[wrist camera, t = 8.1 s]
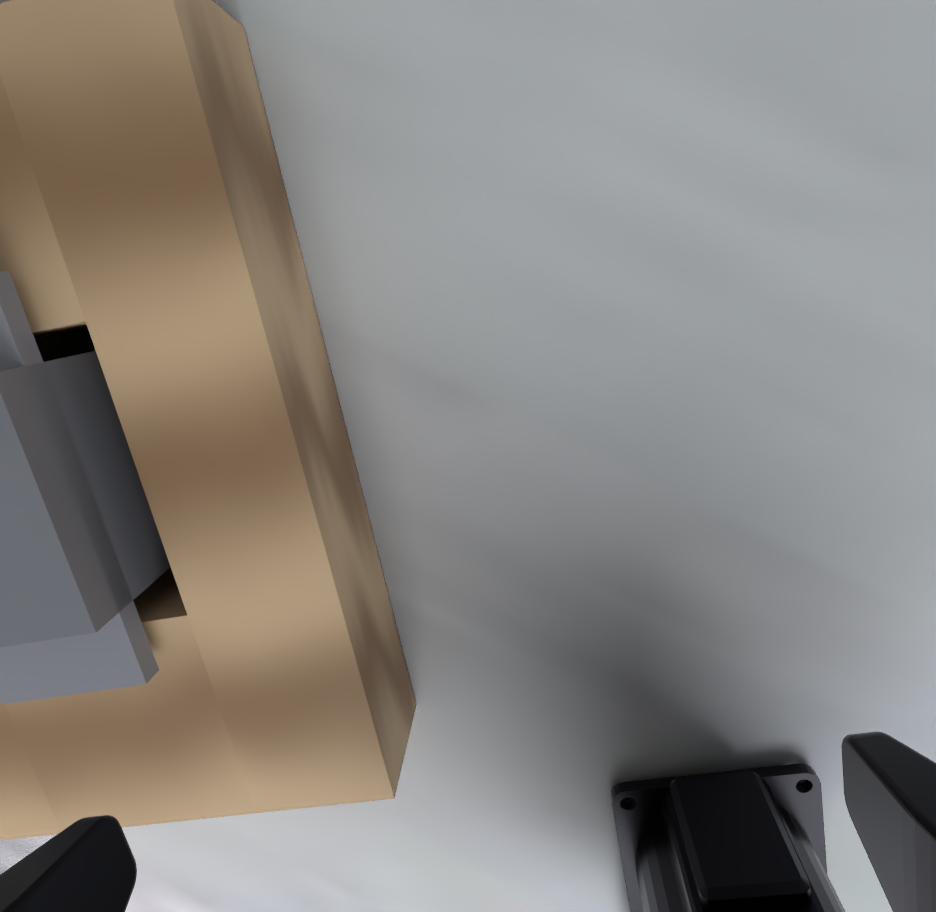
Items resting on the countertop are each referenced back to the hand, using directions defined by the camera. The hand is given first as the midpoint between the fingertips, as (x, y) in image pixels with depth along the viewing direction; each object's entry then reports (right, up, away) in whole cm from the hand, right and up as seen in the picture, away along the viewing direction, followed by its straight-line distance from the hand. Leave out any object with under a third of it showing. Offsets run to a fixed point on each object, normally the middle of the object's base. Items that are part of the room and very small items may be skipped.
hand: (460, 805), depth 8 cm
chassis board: (-10, +4, +12) cm, 17 cm away
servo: (-10, +4, +12) cm, 17 cm away
